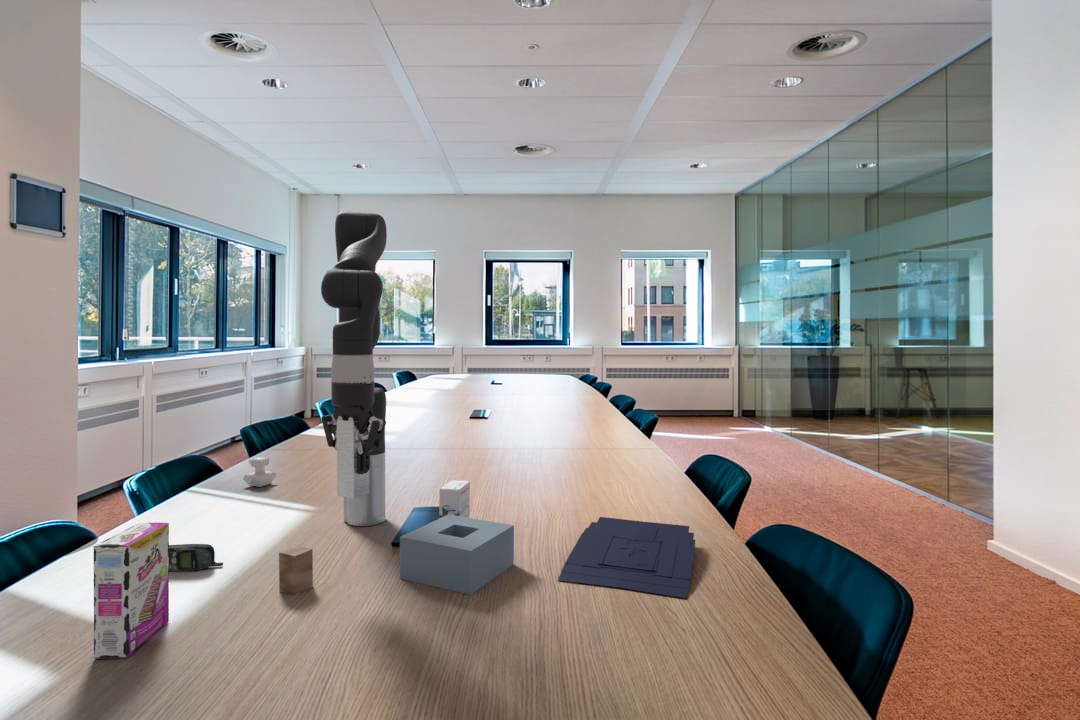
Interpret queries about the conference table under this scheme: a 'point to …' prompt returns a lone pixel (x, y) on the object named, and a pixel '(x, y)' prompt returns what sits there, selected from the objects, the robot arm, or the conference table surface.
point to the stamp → (259, 473)
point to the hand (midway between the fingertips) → (353, 471)
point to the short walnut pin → (295, 569)
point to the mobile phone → (191, 557)
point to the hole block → (457, 553)
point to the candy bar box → (130, 589)
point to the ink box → (455, 499)
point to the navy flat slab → (633, 556)
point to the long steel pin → (349, 463)
